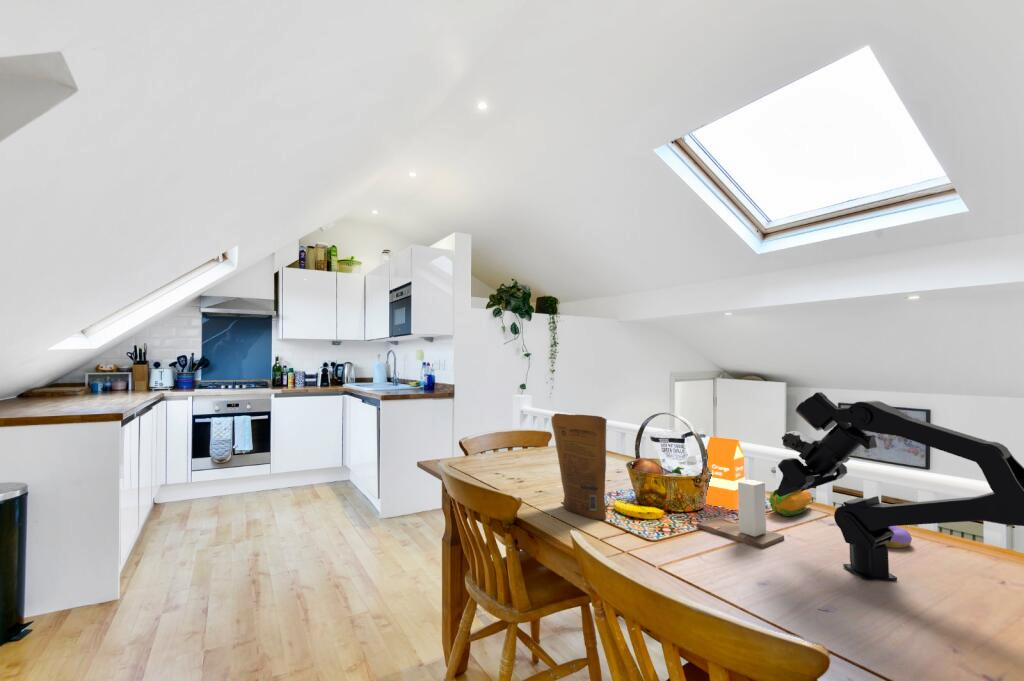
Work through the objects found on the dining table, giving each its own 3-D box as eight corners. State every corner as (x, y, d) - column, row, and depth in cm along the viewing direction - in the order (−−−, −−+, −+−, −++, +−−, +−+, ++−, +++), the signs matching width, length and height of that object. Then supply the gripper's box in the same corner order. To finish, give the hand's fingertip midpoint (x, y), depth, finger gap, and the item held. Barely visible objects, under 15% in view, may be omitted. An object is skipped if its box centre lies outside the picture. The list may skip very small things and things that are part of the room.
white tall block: (766, 532, 115) (764, 482, 116) (755, 536, 113) (753, 485, 113) (750, 527, 119) (748, 479, 119) (738, 531, 116) (737, 482, 116)
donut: (877, 531, 119) (880, 513, 119) (918, 552, 111) (923, 533, 110) (849, 536, 116) (853, 517, 115) (890, 558, 107) (894, 538, 107)
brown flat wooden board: (784, 539, 114) (784, 534, 114) (762, 548, 109) (762, 543, 109) (719, 520, 128) (719, 515, 128) (696, 527, 123) (696, 522, 123)
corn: (762, 487, 133) (794, 477, 145) (761, 514, 133) (793, 502, 145) (790, 495, 127) (821, 483, 139) (789, 523, 127) (820, 509, 139)
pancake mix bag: (599, 524, 125) (598, 417, 126) (549, 507, 140) (549, 411, 141) (615, 519, 129) (614, 415, 130) (565, 503, 144) (565, 410, 145)
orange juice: (734, 511, 136) (733, 441, 137) (704, 504, 142) (703, 437, 143) (745, 506, 141) (744, 438, 142) (716, 499, 148) (715, 435, 149)
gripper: (826, 417, 112) (784, 460, 120) (782, 422, 102) (739, 468, 110) (869, 453, 104) (821, 497, 112) (826, 463, 95) (776, 510, 103)
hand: (789, 492), depth 110 cm, fingers open, 9 cm apart
